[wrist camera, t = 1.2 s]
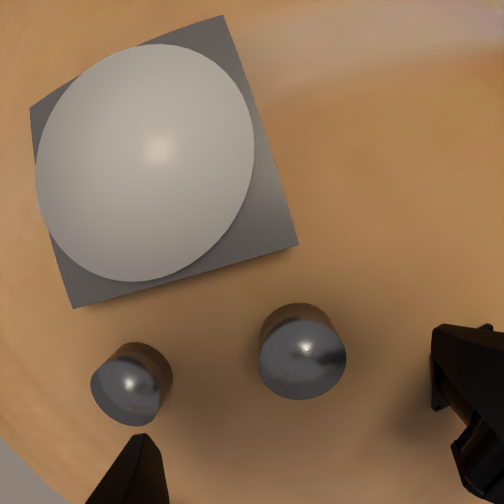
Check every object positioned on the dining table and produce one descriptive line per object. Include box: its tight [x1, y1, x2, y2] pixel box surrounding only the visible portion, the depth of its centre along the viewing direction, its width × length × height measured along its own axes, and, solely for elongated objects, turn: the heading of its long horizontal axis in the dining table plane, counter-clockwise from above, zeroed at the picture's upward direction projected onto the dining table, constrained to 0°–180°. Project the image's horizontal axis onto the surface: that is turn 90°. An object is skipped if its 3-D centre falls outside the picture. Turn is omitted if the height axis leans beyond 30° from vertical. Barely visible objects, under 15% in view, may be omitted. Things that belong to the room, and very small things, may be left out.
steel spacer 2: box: [259, 303, 346, 400], centre depth 18 cm, size 5×5×4 cm
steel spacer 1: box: [91, 342, 173, 426], centre depth 19 cm, size 5×5×4 cm
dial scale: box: [30, 15, 299, 309], centre depth 17 cm, size 15×16×4 cm
